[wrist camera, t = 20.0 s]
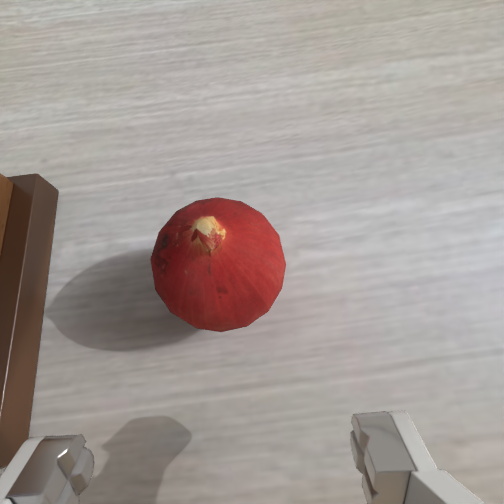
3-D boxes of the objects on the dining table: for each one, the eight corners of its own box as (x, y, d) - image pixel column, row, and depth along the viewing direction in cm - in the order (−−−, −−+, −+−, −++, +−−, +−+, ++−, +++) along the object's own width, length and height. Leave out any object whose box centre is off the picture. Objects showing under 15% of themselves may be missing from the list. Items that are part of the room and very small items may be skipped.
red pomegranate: (166, 326, 17) (82, 297, 9) (192, 230, 19) (140, 140, 11) (272, 346, 16) (275, 333, 9) (288, 245, 18) (302, 160, 10)
